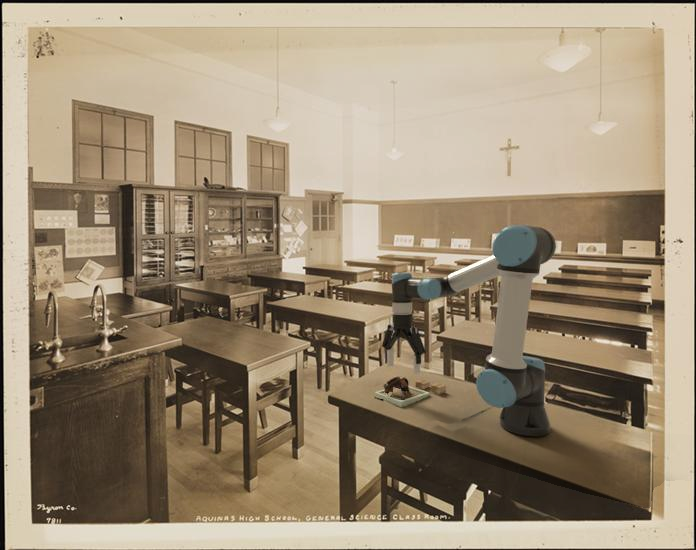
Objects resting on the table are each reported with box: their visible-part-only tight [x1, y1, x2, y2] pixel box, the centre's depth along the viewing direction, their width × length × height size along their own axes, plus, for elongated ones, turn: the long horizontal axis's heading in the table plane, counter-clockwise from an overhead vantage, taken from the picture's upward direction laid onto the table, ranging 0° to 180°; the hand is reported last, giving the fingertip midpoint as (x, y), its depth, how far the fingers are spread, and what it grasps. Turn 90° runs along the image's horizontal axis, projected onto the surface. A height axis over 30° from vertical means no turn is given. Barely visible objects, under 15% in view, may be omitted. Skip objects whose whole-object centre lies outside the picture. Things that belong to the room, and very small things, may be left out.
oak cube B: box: [415, 379, 431, 390], centre depth 163 cm, size 4×4×4 cm
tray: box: [373, 385, 431, 408], centre depth 156 cm, size 14×16×2 cm
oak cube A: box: [430, 383, 447, 396], centre depth 159 cm, size 4×4×4 cm
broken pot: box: [383, 376, 412, 399], centre depth 156 cm, size 12×9×8 cm
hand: (403, 369), depth 155 cm, fingers open, 13 cm apart
